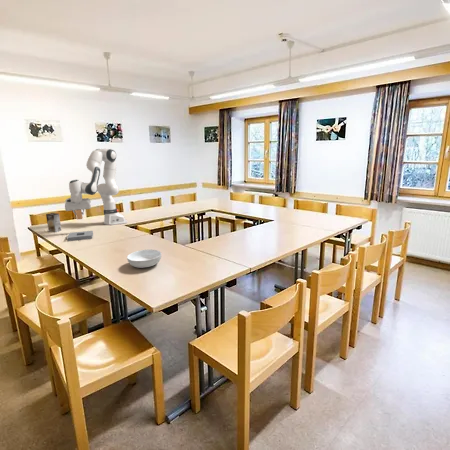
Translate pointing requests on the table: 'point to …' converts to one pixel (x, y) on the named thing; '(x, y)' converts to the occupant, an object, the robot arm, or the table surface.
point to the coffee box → (53, 222)
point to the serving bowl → (144, 258)
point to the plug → (79, 214)
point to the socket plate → (80, 235)
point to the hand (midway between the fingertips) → (79, 214)
